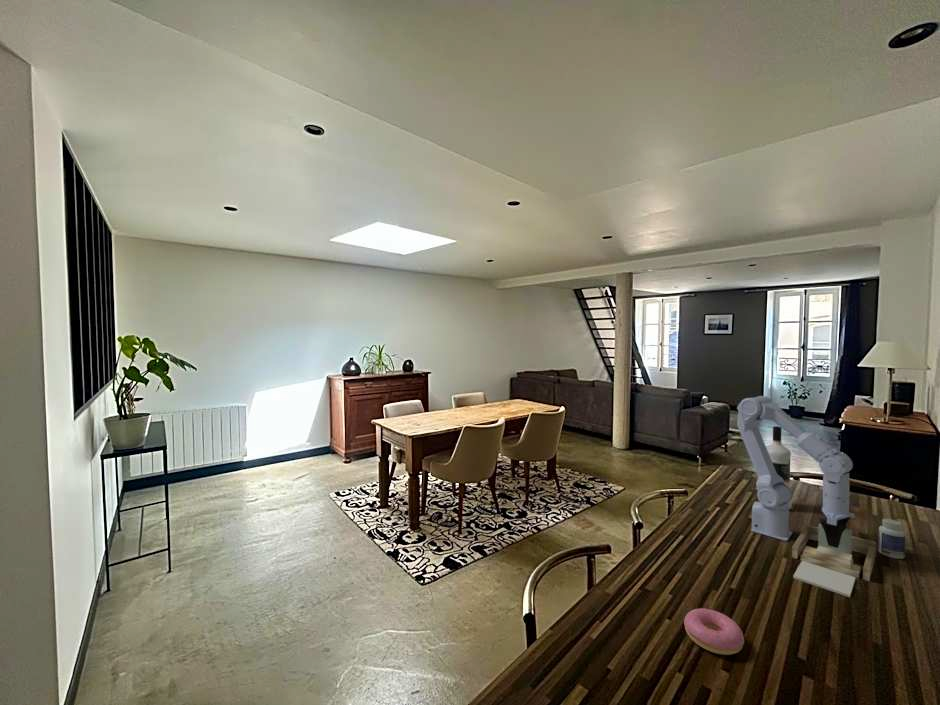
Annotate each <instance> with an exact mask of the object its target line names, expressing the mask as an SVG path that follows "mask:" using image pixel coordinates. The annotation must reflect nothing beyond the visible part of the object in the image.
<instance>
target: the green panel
mask: <svg viewBox="0 0 940 705" xmlns="http://www.w3.org/2000/svg"><path fill="white" fill-rule="evenodd" d="M818 527H819V530H818V541H817V547H818V546H822V547H826V548H829V549H833V550H836V551H840V552H843V553H847V554H850V555H852V556H853V551H852V536H853V530H852V529H850V528H846V529H845V530H844V531H843V533H842V535H841V539H840V544H839V546H838V548H836V547H832V546H829V545H828V543H827V539H826V535H825V531H824V529H823V527H822V525H821V524H820V523H819V524H818Z"/></svg>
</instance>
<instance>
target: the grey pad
mask: <svg viewBox="0 0 940 705" xmlns="http://www.w3.org/2000/svg"><path fill="white" fill-rule="evenodd" d="M800 561H801V562H800V563H799V564H798V567H797V569H796V570H795V572H794V574H793V575H792V576H793V577H792V578H793V579H795V580H798V581H800V582H803V583H805V584H809V585H812V586H815V587H818V588H821V589H824V590H827V591H830V592H834V593H835V594H839V595H842V596H844V597H847V598H851V596H852V593H853V590H854V586H855V583H856V577H853V576H850V575H847V574H844V573H840V572H837V571H834V570H831V569H828V568H824V567H821V566H818V565H815V564H812V563H808V562H805V561H802V560H800Z"/></svg>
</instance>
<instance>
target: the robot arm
mask: <svg viewBox="0 0 940 705" xmlns="http://www.w3.org/2000/svg"><path fill="white" fill-rule="evenodd" d="M736 409H737V411H738V413H737V421H736V425H737V428H738V430H739V433H740V436H741V438H742V441H743V444H744V446H745V448H746V450H747V453H748V456H749V458H750V460H751V464H752V466H753V468H754V471H755V473H756V475H757V480H756V483H755V487H756V488H757V494H756V495H757V496H756V497H757V499H758V500H759V501H754V502H753V504H752V508H751V528H750V531H751V532H754V533H756V534H761V535H764V536H767V537H771V538H773V539H774V538H775V539H778V540H781V541H785V542H787V541H788V540H789V539H790V537H791V536H792V534H793V531H791V530H790V529H789V527H790V525H789V524H790V522H789V520H790V519H789V518H790V509H789V506H788V502H789V501H791V502H792V499H793V497H794V496H793V490H792V489H791V487H790V488H789V487H788V486H787V485H786V484H785V482H784V480H783V478H782V477H780V476H779V475H778V474H777V473H776V470H775V468H774V465H773V463H772V461H771V458H770V456H769V453H768V451H767V448H766V446H767V445H766V443H765V442H764V439H763V437H762V434H761V432H760V428H759V425H760V423H761V422H762V420H767V421H772V422H774V423H776V424H777V425H778V427H781V429H783V430H784V431H786V432H787V433H788V434H790V435H791V436H792V437H794V438H795V439H796V441H797V446H798V447H799V448H801V449H802V450H803V451H804V452H805V453H806V454H808V455H809V456H810V458H812V459H813V460H815V461H816V462H817V463H818V466H819V468H820V470H821V471H822V472H823V475H822V476H823V477H822V507H821V512H822V513H823V514H824V515H825V517H826V518H820V519H819V524H821V525H822V527H823V529H824V531H825V535H826V539H827V543H828V545H829V546H832V547H836V548H838V546H839V544H840V539H841V535H842V533H843V531H844V530H845V529H847V527H848V525H847V523H848V522H849V521H850V520H851V519H852V518H854V519H855V516H856V514H855V513H853V512H850V471H851V470H852V469H853V468H854V467H853V466H854V464H853V460H852V459H851V457H849V456H848V454H846V453H844V452H841V451H839V450H838V449H837V448H834V447H832V446H831V445H830V444H828V443H827V441H825V440H824V437H823V436H822V435H821V434H816V432H808V431H806V430H805V429H804V428H803V427H802V426H801V425H799V424H798V423H797V422H796V421H795V420H794V419H793V418H792V417H790V415H788V414H787V413H786V412H785V411H784V410H782V408H781V407H780V406H779V404H778V403H776V402H774V401H772V399H771V398H770V397H767V396H764V395H758V396H755V397H746V398H744V399H742V400H741V401H740V402H739V404H738V405H737V407H736Z"/></svg>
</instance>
